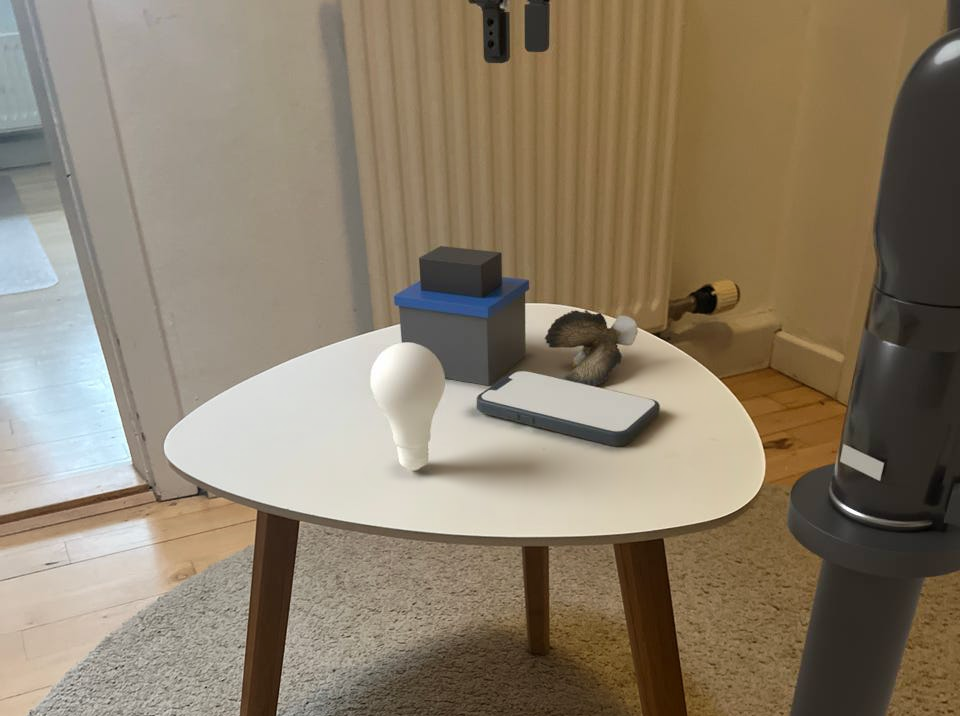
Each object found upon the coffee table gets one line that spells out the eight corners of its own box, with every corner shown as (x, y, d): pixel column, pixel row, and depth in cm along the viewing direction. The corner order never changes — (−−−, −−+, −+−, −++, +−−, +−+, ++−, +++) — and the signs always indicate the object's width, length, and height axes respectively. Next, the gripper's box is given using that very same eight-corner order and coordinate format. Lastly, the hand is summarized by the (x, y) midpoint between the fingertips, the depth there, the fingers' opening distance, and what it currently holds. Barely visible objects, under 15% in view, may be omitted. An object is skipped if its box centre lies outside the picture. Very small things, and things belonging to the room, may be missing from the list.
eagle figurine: (563, 340, 106) (527, 352, 99) (603, 286, 102) (568, 294, 95) (613, 388, 105) (581, 403, 98) (656, 336, 101) (625, 348, 94)
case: (502, 284, 100) (501, 252, 98) (482, 298, 97) (481, 264, 95) (442, 277, 103) (440, 245, 101) (420, 290, 100) (418, 257, 98)
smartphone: (663, 416, 93) (517, 382, 100) (665, 400, 92) (517, 367, 99) (622, 453, 87) (470, 414, 94) (624, 436, 86) (470, 398, 93)
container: (529, 355, 106) (529, 279, 101) (490, 387, 99) (488, 308, 94) (443, 342, 110) (439, 269, 105) (399, 372, 103) (393, 295, 98)
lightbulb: (408, 447, 89) (399, 326, 82) (463, 464, 86) (458, 339, 79) (364, 474, 85) (351, 349, 78) (420, 492, 82) (411, 364, 75)
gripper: (521, -186, 72) (522, 68, 82) (592, -177, 82) (586, 48, 92) (432, -179, 75) (443, 66, 85) (511, -171, 85) (513, 47, 95)
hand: (517, 56), depth 88 cm, fingers open, 8 cm apart
